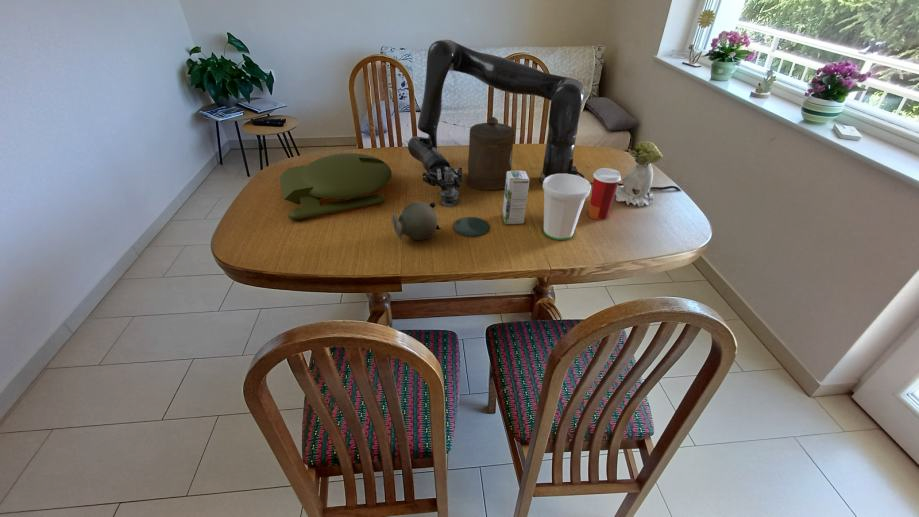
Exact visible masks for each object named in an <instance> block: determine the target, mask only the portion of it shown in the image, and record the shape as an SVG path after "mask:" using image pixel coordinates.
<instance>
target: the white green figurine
mask: <svg viewBox="0 0 919 517" xmlns="http://www.w3.org/2000/svg"><path fill="white" fill-rule="evenodd" d="M634 144H635V145H634V146H633V148H632V149H631V148H628V150H627V151H628V154H629V155H630V156H631V157H632V158H633V159H634V161H635V163H636V164H635V165H634V166H633V167H632V168H631V169H630V170H629V172H627V174H626V175H625V176H624V177H623V179H621V184H623V185H624V186H618V187H617V190H616V193H615V196H616V197H615V200H616V202H625V203H626V206H628V205H630V203H631V204H632V205H633V206H636V205H637V207H639V208H640V207H644V206H645V205H646V206H650V204H651V203H652V202H653V198H654V194H653V192H651V189H650V187H652V185H653V180H654V170H653V167H652V164H655V163H657V162H659V161H660V160H662V158H664V155H663V154H662V152H661V151H660V149H659V147H658V146H656V144H654V143H653V142H650V141H645V140H642V141H638V142H636V143H634ZM633 190H636V191H639V192H638V193H637V194H634V191H633Z"/></svg>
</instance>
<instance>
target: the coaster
mask: <svg viewBox="0 0 919 517" xmlns="http://www.w3.org/2000/svg"><path fill="white" fill-rule="evenodd" d="M453 228H454V231H455V232H456V233H457V234H459V235H461V236H464V237H470V238H471V237H472V238H473V237H474V238H475V237H480V236H483V235H485V234H486V233H487V232H488V231H489V224H488V222H487V221H485V220H484V219H482V218H480V217H475V216H468V217H462V218H460V219H458V220H456V221H455V222H454V225H453Z"/></svg>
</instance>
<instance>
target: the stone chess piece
mask: <svg viewBox="0 0 919 517" xmlns="http://www.w3.org/2000/svg"><path fill="white" fill-rule="evenodd" d="M454 174H455V173H454V172H453V171H452V170H450V168H448V170H446V171H445V173H444V177H445V180H444V182H445V183H446V185H447V191H444V190H442V189H441V190H440V191H439V194H440V196H441V199H442V200H441V202H440V203H441V205H442V206H444V207H449V208H450V207H455V206H457V205H458V203H459V201H458V200H457V198H458V196H459V189H457V188H455V185H454V183H455V180H454Z"/></svg>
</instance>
